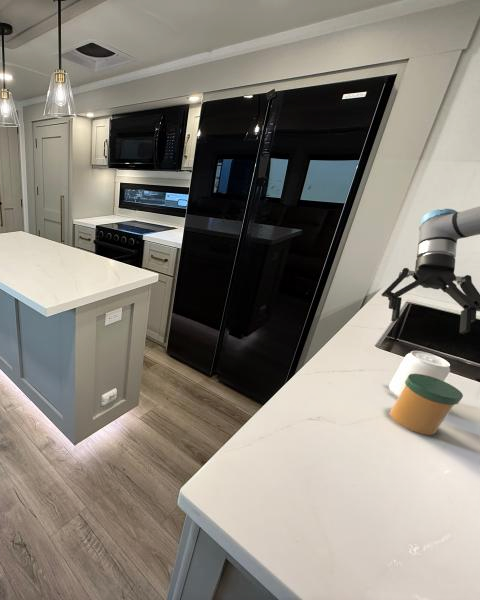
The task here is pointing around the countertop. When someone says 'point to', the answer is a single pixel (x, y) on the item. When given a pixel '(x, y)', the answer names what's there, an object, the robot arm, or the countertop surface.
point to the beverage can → (419, 369)
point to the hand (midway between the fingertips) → (428, 325)
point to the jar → (419, 412)
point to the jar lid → (433, 389)
